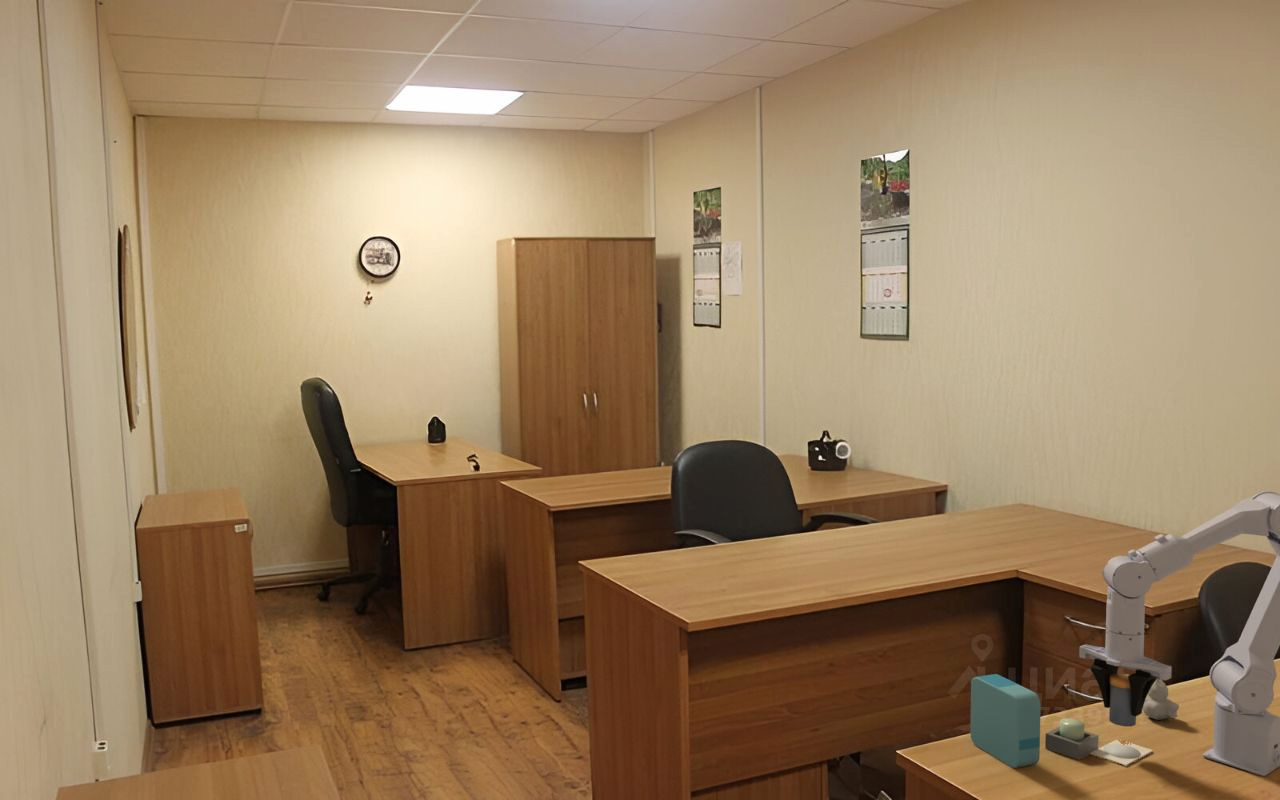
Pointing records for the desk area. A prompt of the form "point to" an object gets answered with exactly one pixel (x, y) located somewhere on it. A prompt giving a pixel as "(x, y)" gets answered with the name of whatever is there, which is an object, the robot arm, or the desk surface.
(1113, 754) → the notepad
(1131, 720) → the orange-capped grey cylinder
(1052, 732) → the button housing
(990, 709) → the data package
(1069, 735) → the button
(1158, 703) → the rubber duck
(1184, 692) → the desk surface
